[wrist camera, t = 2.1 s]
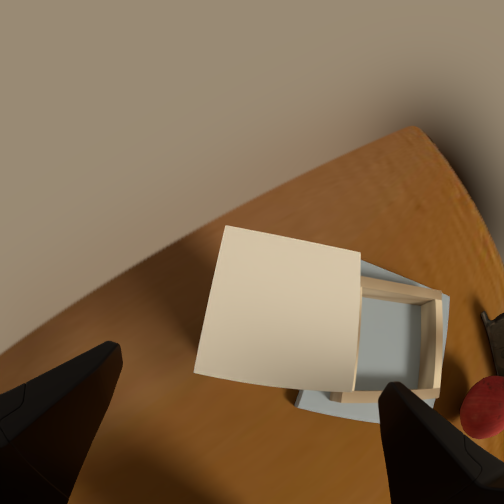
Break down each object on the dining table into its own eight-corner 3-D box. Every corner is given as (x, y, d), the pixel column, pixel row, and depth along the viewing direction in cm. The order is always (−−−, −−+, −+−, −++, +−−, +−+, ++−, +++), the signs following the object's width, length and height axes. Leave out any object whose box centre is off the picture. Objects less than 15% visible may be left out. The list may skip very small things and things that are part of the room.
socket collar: (423, 397, 16) (439, 397, 14) (329, 400, 16) (341, 402, 14) (427, 297, 20) (441, 290, 18) (341, 283, 20) (352, 274, 18)
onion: (449, 378, 18) (516, 367, 11) (481, 380, 18) (540, 369, 11) (436, 438, 16) (502, 444, 8) (471, 434, 15) (529, 434, 8)
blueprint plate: (443, 299, 21) (449, 296, 20) (420, 426, 16) (427, 427, 15) (336, 257, 22) (341, 252, 21) (294, 405, 17) (297, 407, 16)
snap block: (271, 379, 17) (352, 392, 6) (212, 369, 17) (193, 372, 6) (279, 324, 19) (360, 252, 8) (223, 314, 19) (225, 225, 8)
